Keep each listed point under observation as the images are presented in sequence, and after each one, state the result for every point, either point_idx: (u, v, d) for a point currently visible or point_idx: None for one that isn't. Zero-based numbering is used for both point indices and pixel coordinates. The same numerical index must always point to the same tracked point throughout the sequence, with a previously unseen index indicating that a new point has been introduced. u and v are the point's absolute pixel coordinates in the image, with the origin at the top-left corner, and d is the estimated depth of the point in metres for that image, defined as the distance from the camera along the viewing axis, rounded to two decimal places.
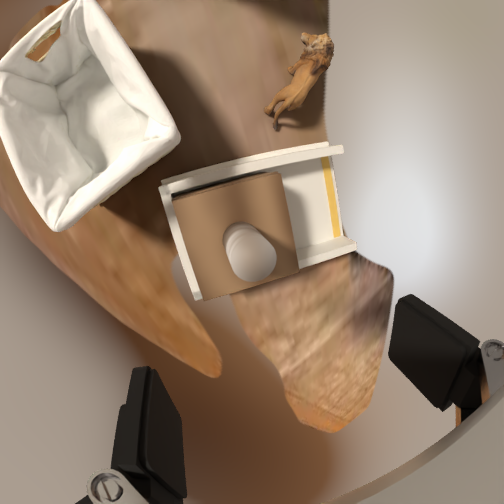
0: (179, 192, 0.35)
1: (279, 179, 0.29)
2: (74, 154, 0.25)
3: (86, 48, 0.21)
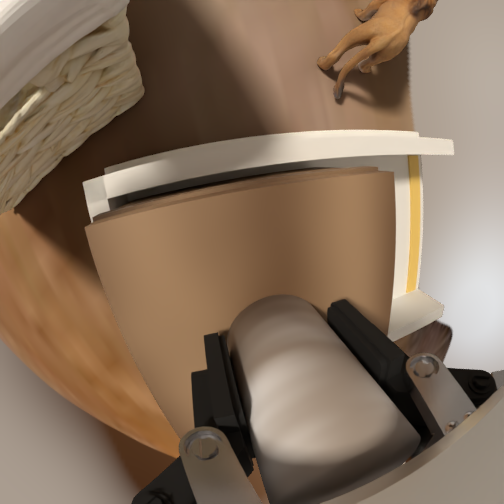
0: (139, 195, 0.16)
1: (390, 187, 0.10)
2: None
3: None
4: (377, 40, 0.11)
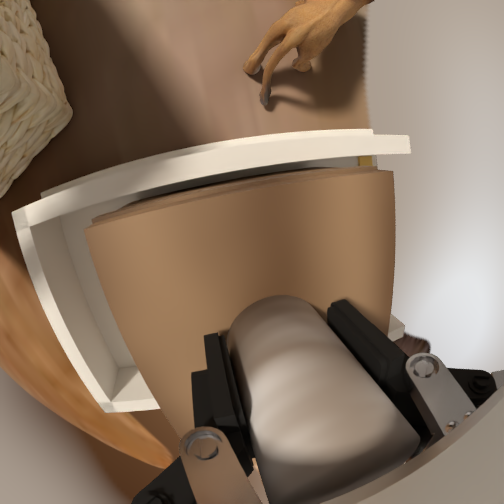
0: (69, 217, 0.15)
1: (389, 186, 0.10)
2: None
3: None
4: (292, 32, 0.10)
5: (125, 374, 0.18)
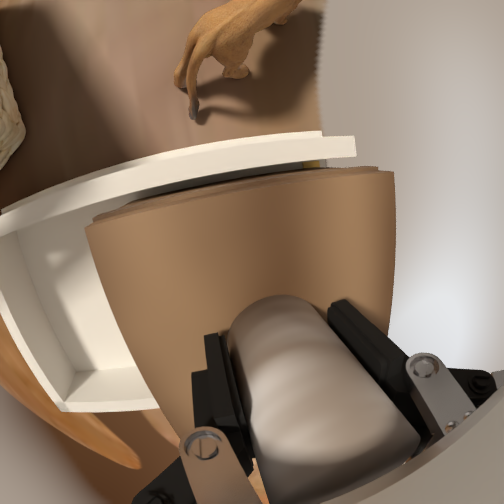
0: (23, 232, 0.14)
1: (389, 187, 0.10)
2: None
3: None
4: (199, 42, 0.10)
5: (80, 378, 0.18)
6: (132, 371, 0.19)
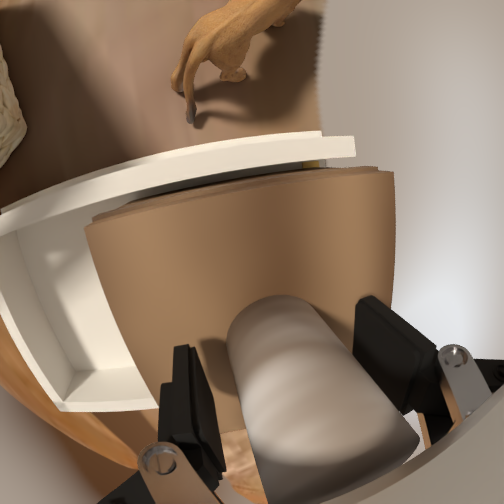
0: (23, 231, 0.14)
1: (389, 187, 0.10)
2: None
3: None
4: (195, 46, 0.10)
5: (79, 377, 0.18)
6: (132, 371, 0.19)
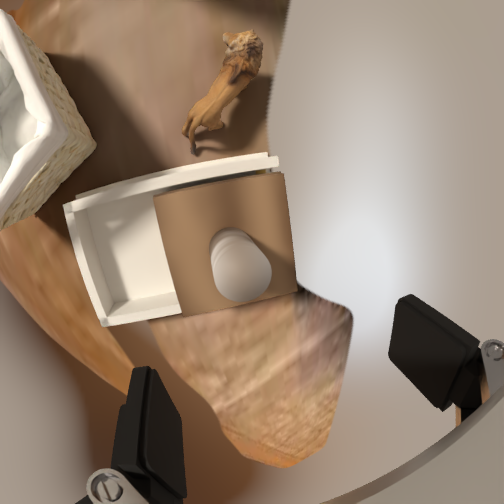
0: (92, 209, 0.29)
1: (281, 180, 0.24)
2: None
3: None
4: (194, 120, 0.24)
5: (118, 305, 0.32)
6: (154, 297, 0.33)
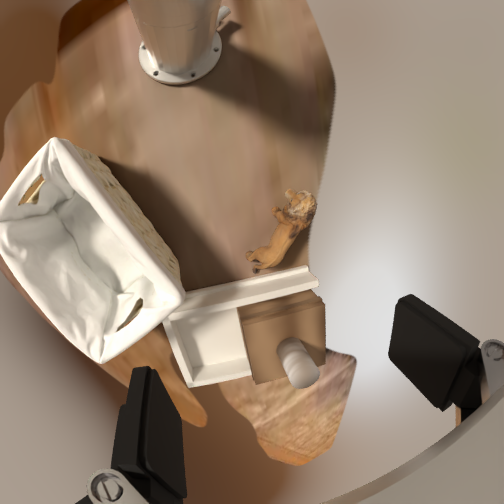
0: None
1: (323, 308, 0.38)
2: (93, 287, 0.32)
3: None
4: (264, 265, 0.38)
5: (196, 370, 0.45)
6: (224, 363, 0.46)
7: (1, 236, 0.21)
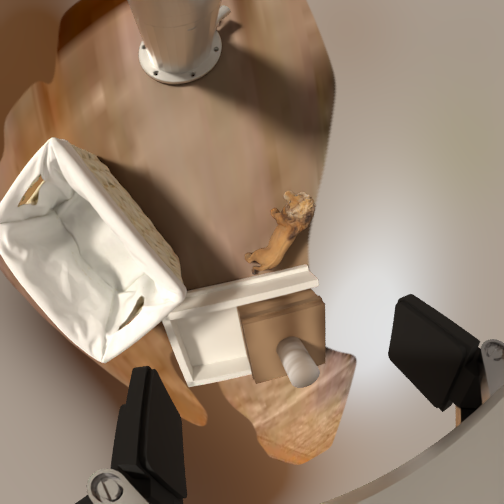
0: None
1: (323, 307, 0.38)
2: (94, 286, 0.32)
3: None
4: (263, 267, 0.38)
5: (196, 369, 0.46)
6: (224, 363, 0.47)
7: (1, 238, 0.22)
